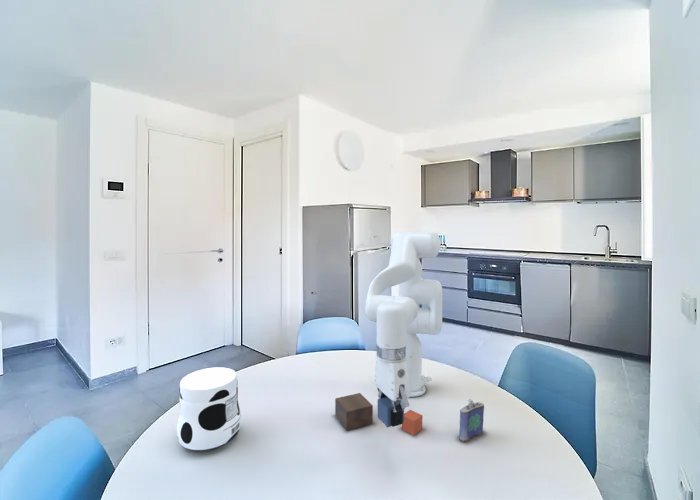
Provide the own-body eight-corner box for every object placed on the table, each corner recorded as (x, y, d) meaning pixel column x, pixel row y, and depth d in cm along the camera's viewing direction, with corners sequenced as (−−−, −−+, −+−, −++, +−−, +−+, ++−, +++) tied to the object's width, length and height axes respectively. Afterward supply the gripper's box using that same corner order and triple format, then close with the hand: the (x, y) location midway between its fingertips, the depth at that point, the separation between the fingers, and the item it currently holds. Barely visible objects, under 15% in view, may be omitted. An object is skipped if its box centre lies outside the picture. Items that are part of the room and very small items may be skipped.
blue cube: (393, 412, 92) (393, 394, 91) (404, 422, 87) (404, 404, 87) (377, 417, 89) (377, 399, 89) (387, 427, 85) (387, 408, 85)
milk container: (179, 428, 103) (177, 371, 102) (238, 416, 110) (237, 362, 109) (174, 464, 88) (172, 397, 86) (244, 448, 94) (243, 385, 93)
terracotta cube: (410, 423, 107) (410, 409, 106) (422, 429, 103) (422, 415, 103) (401, 429, 103) (401, 415, 103) (413, 435, 100) (414, 421, 100)
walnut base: (359, 409, 114) (359, 392, 114) (372, 423, 106) (372, 405, 106) (335, 416, 111) (335, 398, 110) (346, 431, 102) (346, 411, 102)
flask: (464, 443, 97) (464, 406, 96) (456, 438, 99) (456, 402, 99) (485, 433, 101) (486, 398, 101) (477, 428, 104) (478, 394, 103)
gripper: (423, 360, 81) (422, 433, 82) (386, 338, 96) (386, 400, 98) (396, 366, 77) (396, 442, 79) (362, 342, 93) (362, 406, 94)
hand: (390, 418), depth 88 cm, fingers closed on blue cube, 5 cm apart
